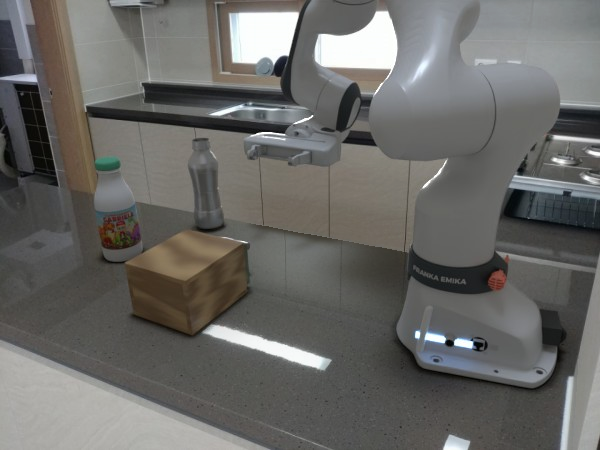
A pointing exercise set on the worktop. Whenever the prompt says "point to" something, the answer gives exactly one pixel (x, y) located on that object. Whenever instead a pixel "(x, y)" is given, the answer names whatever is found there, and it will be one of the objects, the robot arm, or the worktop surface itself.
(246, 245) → the drawer
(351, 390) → the worktop surface
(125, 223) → the milk bottle
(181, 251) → the cabinet
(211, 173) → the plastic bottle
